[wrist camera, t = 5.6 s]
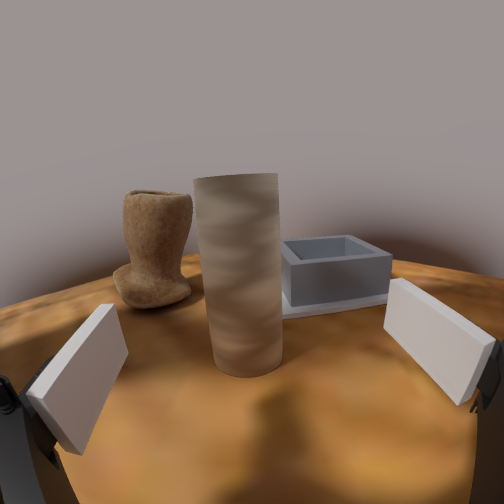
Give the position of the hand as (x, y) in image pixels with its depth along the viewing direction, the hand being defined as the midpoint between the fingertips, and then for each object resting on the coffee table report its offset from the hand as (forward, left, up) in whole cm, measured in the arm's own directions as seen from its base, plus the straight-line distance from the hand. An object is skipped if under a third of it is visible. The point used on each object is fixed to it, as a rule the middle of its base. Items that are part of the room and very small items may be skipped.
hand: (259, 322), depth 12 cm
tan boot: (-12, +26, -9) cm, 30 cm away
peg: (0, +9, -9) cm, 13 cm away
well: (+12, +23, -9) cm, 27 cm away
